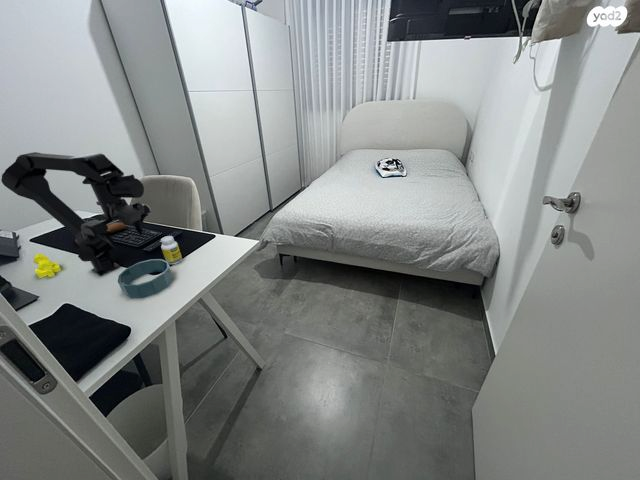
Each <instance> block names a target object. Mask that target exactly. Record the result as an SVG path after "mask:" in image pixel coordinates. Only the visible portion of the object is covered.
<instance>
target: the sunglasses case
mask: <svg viewBox="0 0 640 480" xmlns="http://www.w3.org/2000/svg"><path fill="white" fill-rule="evenodd" d="M108 230H109V231H111V233H110V234H113V233H116V232H119V231H122V230H128V228H127V226H126V224H125V223H124V222H122V221H118V222H115V223H113V224H110V225H108ZM74 242H75V243H76V244H77V240H76V239H74Z"/></svg>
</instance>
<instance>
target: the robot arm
mask: <svg viewBox="0 0 640 480" xmlns="http://www.w3.org/2000/svg"><path fill="white" fill-rule="evenodd" d="M47 170H48V171H49V170H51V171H60V172H61V171H63V172H73V173H74V174H76V175H77V176H79V177H84V179H83V180H82V184H83V185H90V187H91V189H92V191H93V193H94V195H95V198H96V200H97V201H96V202H95V203H96V206H100V208H101V211H102V212H103V213H102V214H101V216H102V217H103V218H105V219H103V220H97V219H92V220H89V221H86V220H85V219H83V218H82V217H81V216H80V215H78V213H76V212H75V211H74V210H73V209H72V208H71V207H70V206H69V205H67V204H66V203H65V202H64V201H63V200H61V199H60V198H59V197H58V196H57V195H56V194H55V193H54V192H52V190H51V187H50V183H49V181H48V179H47V178H46V177H45V176H46V174H47V173H48V171H47ZM0 181H1V183H2V185H3V186H4V187H5V188H7V189H8V190H10V191H11V192H13V193H14V194H16V195H17V196H19V197H22V198H26V199H29V200H32V201H34V202H35V203H36V204H38V205H39V207H41V208H42V209H43V210H44V211H46V212H47V213H48V214H49V215H50V216H51V217H53V218H54V219H55V220H56V221H57V222H59V223H60V224H61V225H62V226H63V227H65V229H67V230H68V231H69V232H70V233H72V235H74V236H75V240H77V243H76V244H77V246H78V247H79V248H80V249H81V250H80V252H79V254H78V255H77V257H78V259H79V260H81V261H82V262H90V263H91V265H92V267H93V268H92V269H91V272H92V273H94V274H96V275H97V276H98V277H99V276H104V275H105V274H108V273H110V272H112V271H114V270H116V269H119V268H120V267H121V266H120V265H119V264H118V263H116V262H114V260H113V258H112V256H111V254H110V251H112V250H113V249H117V248H118V247H117V245H116V242H115V240H114V238H113V237H112V233H111V231H109V230H108V225H110V224H113V223H118V222H121V223H123V224H125V225H133V227H134V229H135V230H136V232H137V233H138V234H139V236H143V233H144V230H143V229H144V220H145V219H146V218H147V217H148V216H149V214H150V213H152V210H151V208H150V206H149V205H148V204H145V203H142V202H139V201H138V202H135V203H131V204H129V203H128V201H127V200H126V199H138V198H142V196H143V195H144V193H145V187H144V184H143V183H142V181H140V179H138V178H136V177H135V175H134V174H125V173H124V172H123V171H122V170H121V169H120V168H119V167H118V166H117V165H116V164H115V163H113V162H112V161H111V159H109V158H108V157H107V156H106V155H105V154H104V153H101V152H96V153H87V154H82V155H67V154H66V155H65V154H54V153H41V152H37V151H33V152H27V153H23V154H19V156H17V157H16V159H15V161H14V162H13V163H12V164H11V165H10V166H8V167H7V168H6V169H5V170H4V172H3V173H2V174H1V180H0Z"/></svg>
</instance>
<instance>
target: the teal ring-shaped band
mask: <svg viewBox="0 0 640 480" xmlns="http://www.w3.org/2000/svg"><path fill="white" fill-rule="evenodd" d="M153 273H161V274H160V275H158V276H156V277H154V278H153V279H151V280H147V281H145V282H142V283H137V284H132V283H133V282H134V281H135V280H138V279H139V278H141V277H143V276H145V275H149V274H153ZM174 279H175V278H174V274H173V271H172V267H171V265H170V264H169V262H167V261H166V260H165V259H162V258H154V259H147V260H143V261H139V262H136V263H135V264H133V265H130V266H128V267H127V268H125V269H124V270H123V271H122V272H121V273H120V274H118V278H117V283H118V285H119V287H120V289H121V291H122V293H123V295H125V297H127V298H129V299H145V298H148V297H151V296H154V295H158V294H159V293H161V292H163V290H165V289H167V288H168V287H169V286H170V285H171V284H172V282H173V281H174Z"/></svg>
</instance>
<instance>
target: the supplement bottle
mask: <svg viewBox="0 0 640 480" xmlns="http://www.w3.org/2000/svg"><path fill="white" fill-rule="evenodd" d="M160 243H161V246H160V248H161V251H162V254H163V258H164V260H165V261H167V262H169V265H170V266H171V265H177V264H179V263H181V262H182V261H183V256H182V253H181V250H180V247H179V243H178V242H177V241H175V239H174V236H172V235H166V236H164V237H162V238H160Z"/></svg>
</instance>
